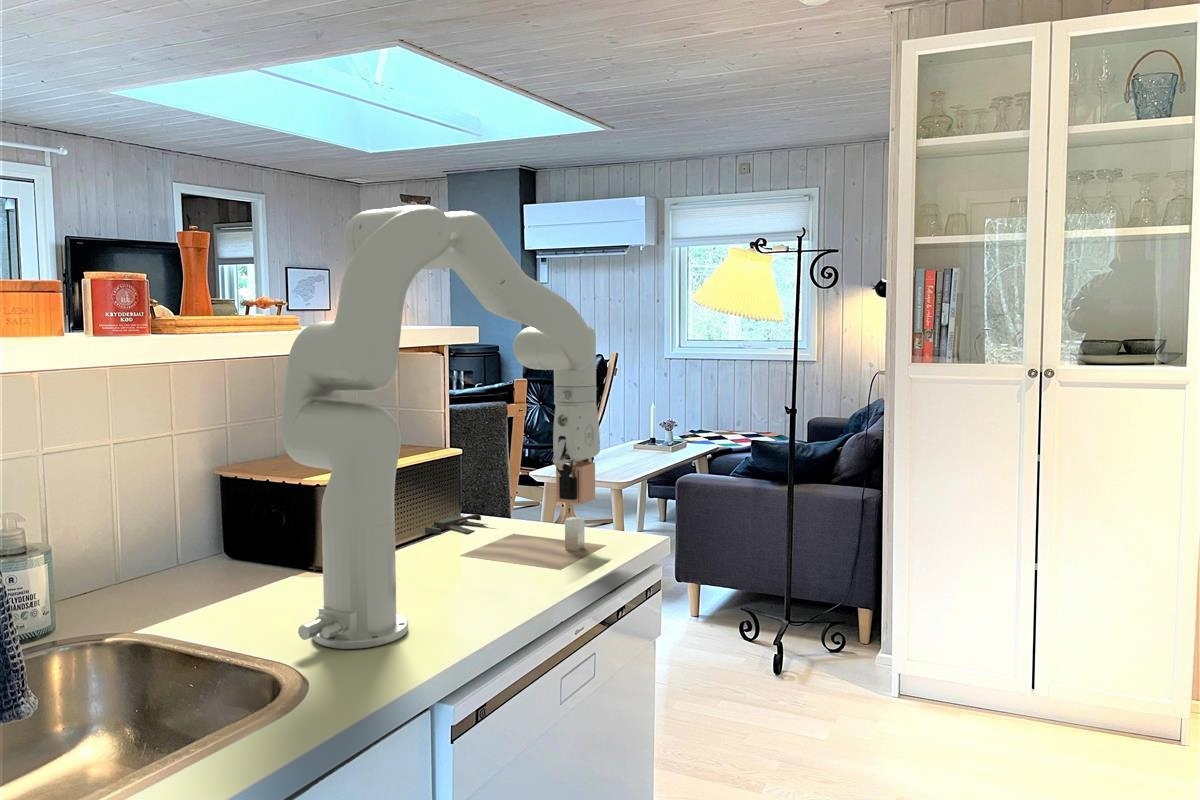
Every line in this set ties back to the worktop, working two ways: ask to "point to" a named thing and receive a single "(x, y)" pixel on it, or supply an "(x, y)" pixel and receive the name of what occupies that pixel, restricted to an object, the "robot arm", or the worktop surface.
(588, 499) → the salmon pink block
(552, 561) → the board
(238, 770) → the worktop surface
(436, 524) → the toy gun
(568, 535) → the post
